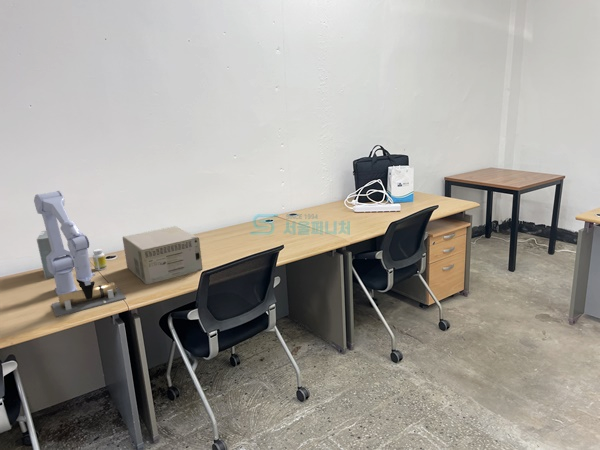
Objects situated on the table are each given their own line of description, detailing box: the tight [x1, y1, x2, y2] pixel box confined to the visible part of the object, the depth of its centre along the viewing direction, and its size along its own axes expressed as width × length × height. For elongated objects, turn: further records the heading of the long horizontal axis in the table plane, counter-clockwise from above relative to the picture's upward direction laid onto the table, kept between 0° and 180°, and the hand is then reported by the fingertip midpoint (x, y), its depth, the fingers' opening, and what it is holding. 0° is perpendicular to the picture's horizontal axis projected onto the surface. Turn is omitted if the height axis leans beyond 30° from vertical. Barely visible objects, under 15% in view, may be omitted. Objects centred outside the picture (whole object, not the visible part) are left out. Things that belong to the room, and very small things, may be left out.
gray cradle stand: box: [51, 286, 127, 318], centre depth 184 cm, size 14×26×4 cm, turn 124°
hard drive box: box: [36, 230, 62, 279], centre depth 218 cm, size 16×8×20 cm, turn 21°
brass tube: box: [57, 281, 117, 308], centre depth 183 cm, size 5×21×5 cm, turn 124°
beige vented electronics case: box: [122, 225, 203, 286], centre depth 216 cm, size 27×29×16 cm
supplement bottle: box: [92, 248, 108, 271], centre depth 221 cm, size 5×5×10 cm
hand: (88, 296), depth 183 cm, fingers closed on brass tube, 5 cm apart
